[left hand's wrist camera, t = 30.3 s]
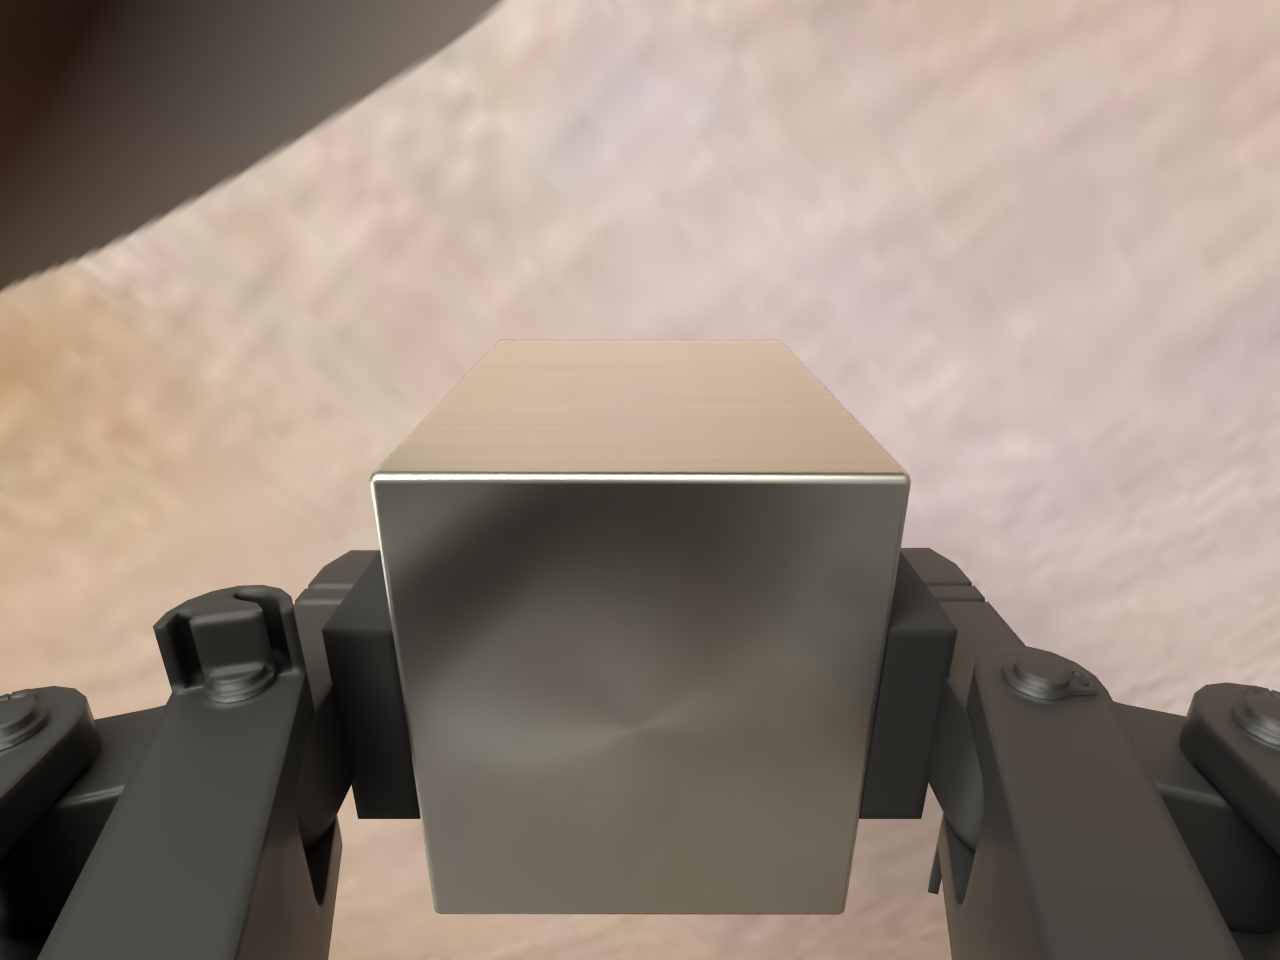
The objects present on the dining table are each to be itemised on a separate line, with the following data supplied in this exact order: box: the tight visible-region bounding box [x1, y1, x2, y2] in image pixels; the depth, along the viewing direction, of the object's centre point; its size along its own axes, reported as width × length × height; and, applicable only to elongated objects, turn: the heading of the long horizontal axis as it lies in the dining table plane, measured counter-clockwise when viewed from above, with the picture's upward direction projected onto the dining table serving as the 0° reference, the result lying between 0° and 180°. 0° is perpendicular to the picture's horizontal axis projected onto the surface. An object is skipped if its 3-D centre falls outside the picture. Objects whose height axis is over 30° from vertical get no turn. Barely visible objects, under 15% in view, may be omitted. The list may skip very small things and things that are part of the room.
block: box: [370, 340, 911, 914], centre depth 11 cm, size 6×5×7 cm
